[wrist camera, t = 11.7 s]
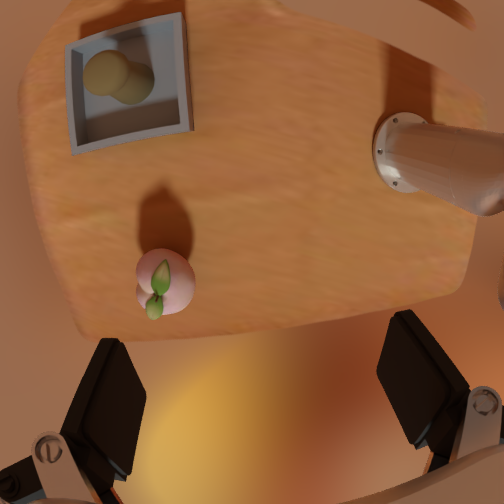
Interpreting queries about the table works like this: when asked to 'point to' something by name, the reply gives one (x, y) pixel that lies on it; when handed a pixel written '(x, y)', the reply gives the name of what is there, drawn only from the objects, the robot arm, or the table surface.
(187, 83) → the box
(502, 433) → the robot arm
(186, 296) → the decorative fruit
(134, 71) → the cork
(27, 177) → the table surface
